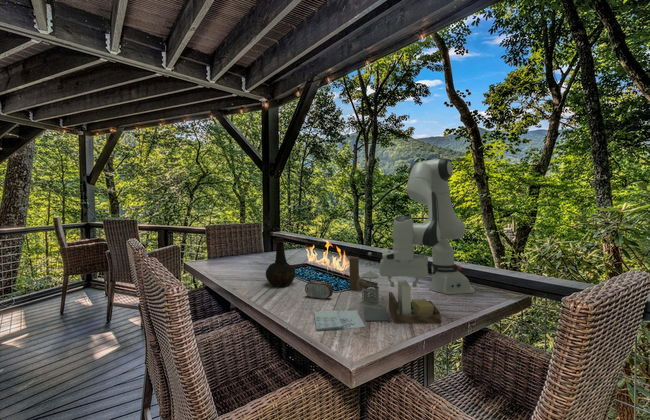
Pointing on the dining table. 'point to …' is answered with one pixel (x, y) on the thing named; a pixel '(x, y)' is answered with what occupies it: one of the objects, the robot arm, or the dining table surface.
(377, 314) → the pad
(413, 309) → the offcut lower
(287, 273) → the dark brown vase
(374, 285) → the french press
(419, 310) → the offcut upper
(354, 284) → the wooden block
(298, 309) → the dining table surface
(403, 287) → the pale grey rectangular block
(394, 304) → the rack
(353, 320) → the light flat printed piece
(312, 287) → the tin
